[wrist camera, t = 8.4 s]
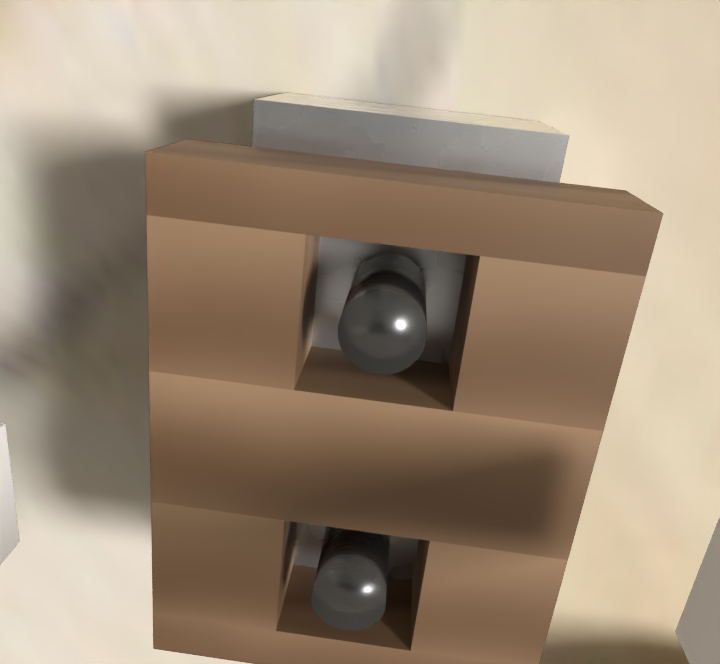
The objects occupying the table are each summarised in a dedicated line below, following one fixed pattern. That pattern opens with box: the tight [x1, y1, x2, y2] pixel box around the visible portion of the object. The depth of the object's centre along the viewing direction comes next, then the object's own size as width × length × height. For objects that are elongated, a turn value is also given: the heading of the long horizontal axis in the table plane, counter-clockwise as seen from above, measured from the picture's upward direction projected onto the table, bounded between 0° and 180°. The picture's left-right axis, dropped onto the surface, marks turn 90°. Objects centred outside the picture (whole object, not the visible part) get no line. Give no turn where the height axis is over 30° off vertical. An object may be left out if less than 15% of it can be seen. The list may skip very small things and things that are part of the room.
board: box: [145, 139, 663, 664], centre depth 16 cm, size 13×10×2 cm
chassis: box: [252, 93, 569, 631], centre depth 18 cm, size 15×7×7 cm, turn 174°
